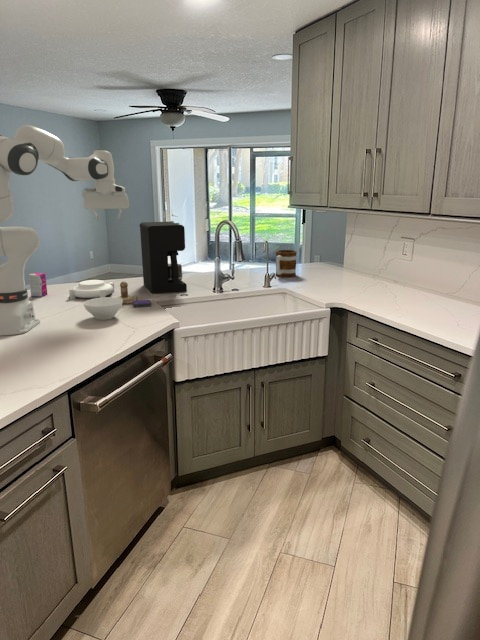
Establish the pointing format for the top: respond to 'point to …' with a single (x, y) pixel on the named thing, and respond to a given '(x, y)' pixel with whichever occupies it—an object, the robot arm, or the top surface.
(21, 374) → the top surface
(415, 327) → the top surface
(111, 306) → the bowl
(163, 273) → the coffee maker
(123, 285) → the stamp
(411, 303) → the top surface
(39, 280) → the supplement box
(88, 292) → the round stand with pegs
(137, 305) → the ink pad
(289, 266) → the mug
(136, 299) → the board
